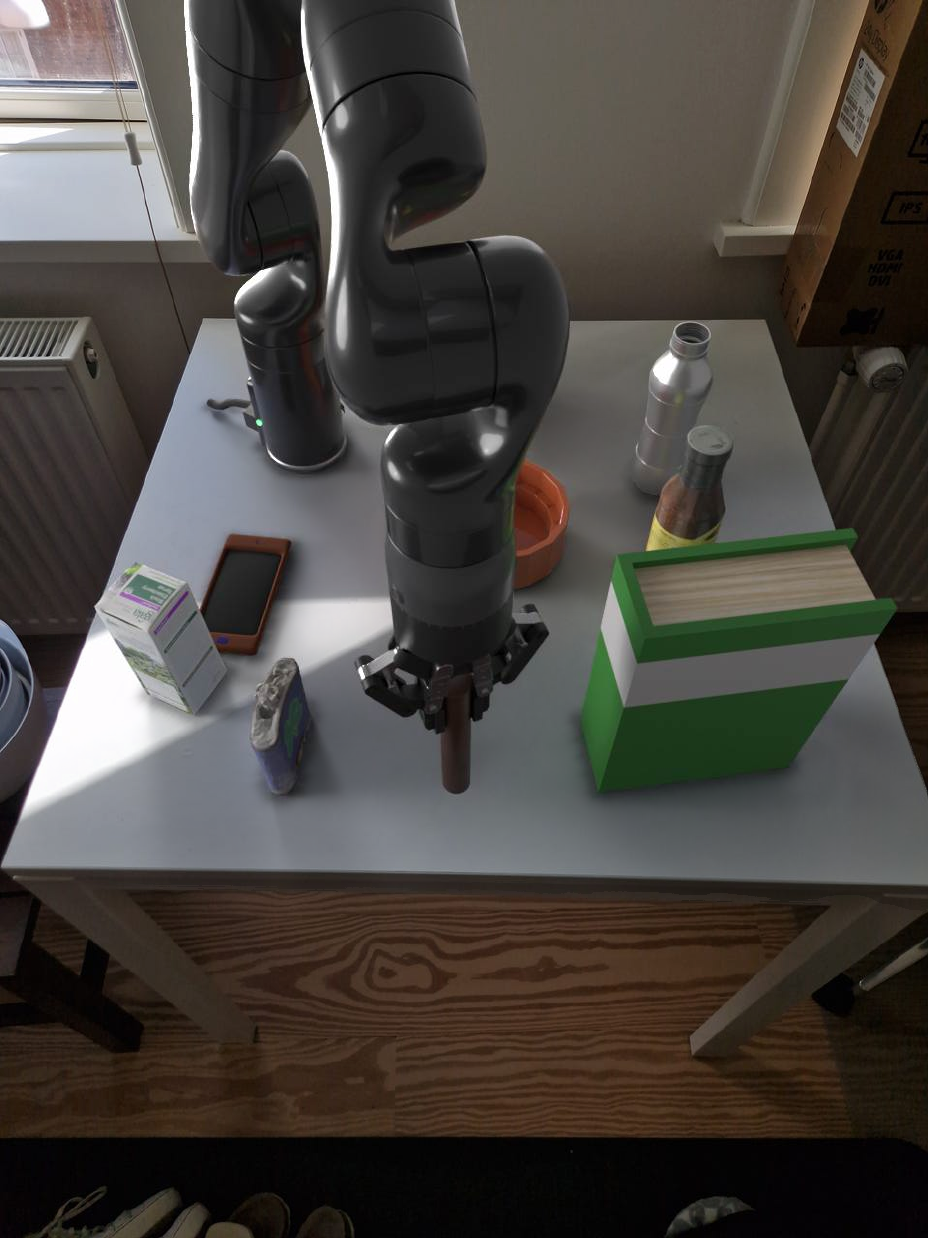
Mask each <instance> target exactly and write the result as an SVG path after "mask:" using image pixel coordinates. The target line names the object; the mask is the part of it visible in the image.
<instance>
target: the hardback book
mask: <svg viewBox="0 0 928 1238" xmlns="http://www.w3.org/2000/svg"><path fill="white" fill-rule="evenodd" d="M858 539H859V536H858V534H857V532H856V531H855V529H854V527H849V528H841V529H832V530H822V531H813V532H805V533H795V534H787V535H778V536H768V537H759V538H749V539H741V540H733V541H725V542H724V541H723V542H715V543H714V544H705V545H696V546H687V547H678V548H669V549H660V550H651V551H646V550H645V551H643V550H642V551H634V552H626V553H617V554H616V557H615V561H614V566H613V571H612V574H611V580H610V584H609V588H608V591H607V592H608V593H607V598H606V602H605V607H604V610H603V615H602V620H601V624H600V629H599V633H598V639H597V642H596V646H595V651H594V656H593V661H592V665H591V669H590V674H589V678H588V683H587V688H586V691H585V695H584V696H585V697H584V700H583V705H582V708H581V709H582V710H581V714H580V718H579V722H580V725H581V730H582V734H583V738H584V742H585V745H586V749H587V754H588V757H589V761H590V765H591V770H592V773H593V777H594V780H595V786H596V788H597V793H598V794H600V793H607V792H614V791H623V790H630V789H637V788H644V787H650V786H659V785H665V784H674V783H680V782H689V781H695V780H703V779H710V778H711V779H712V778H718V777H726V776H733V775H740V774H747V773H756V772H762V771H770V770H776V769H785V768H789V767H790V766H791V764H792V763H793V762H794V760H795V759H796V758H797V756H798V754H799V753H800V752H801V750H802V748H803V747H804V746H805V744H806V742H807V741H808V740H809V738H810V737H811V735H812V734H813V732H814V731H815V729H816V728H817V726H818V725H819V724H820V722H821V720H822V719H823V718H824V716H825V715H826V714H827V712H828V711H829V709H830V708H831V707H832V705H833V704H834V702H835V701H836V699H837V697H838V696H839V695H840V693H841V692H842V690H843V689H844V687H845V686H846V685H847V684H848V682H849V680H850V678H852V676H853V674H854V673H855V671H857V668H858V667H859V666H860V664H861V663H862V661H863V660H864V658H865V657H866V656H867V654H868V653H869V651H870V650H871V648H872V647H873V645H874V644H875V642H876V641H877V639H878V638H879V636H880V635H881V634H882V633H883V631H884V629H885V627H886V626H887V625H888V623H889V622H890V620H891V619H892V617H893V616H894V615H895V613H896V612H897V610H898V607H897V605H896V603H895V601H894V600H893V598H892V597H887V598H879V599H876V597H875V596H874V594H873V592H872V590H871V588H870V586H869V585H868V582H867V580H866V579H865V577H864V575H863V573H862V571H861V569H860V568H859V566H858V564H857V562H856V560H855V558H854V557H853V554H852V553H851V551H852V550H853V547H854V546H855V544H856V542H857V540H858Z"/></svg>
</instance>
